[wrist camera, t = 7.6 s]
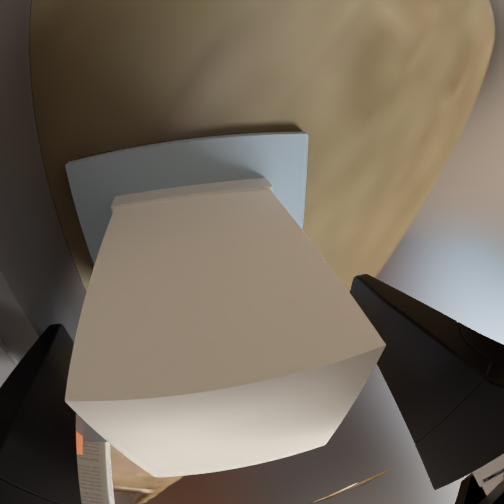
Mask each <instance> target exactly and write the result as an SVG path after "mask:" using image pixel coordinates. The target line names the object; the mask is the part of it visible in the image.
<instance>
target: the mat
mask: <svg viewBox="0 0 504 504" xmlns="http://www.w3.org/2000/svg"><path fill="white" fill-rule="evenodd" d="M308 136H309V134H308V133H306V132H304V131H302V132H266V133H247V134H233V135H221V136H211V137H202V138H193V139H185V140H177V141H170V142H163V143H157V144H150V145H144V146H139V147H133V148H128V149H123V150H118V151H113V152H108V153H103V154H99V155H94V156H90V157H86V158H82V159H78V160H74V161H70V162H68V163H67V164H66V165H65V167H66V172H67V176H68V181H69V185H70V189H71V193H72V196H73V200H74V204H75V207H76V211H77V214H78V218H79V221H80V225H81V228H82V231H83V234H84V237H85V240H86V243H87V246H88V249H89V252H90V255H91V258H92V261H93V263H94V265H95V262H96V259H97V256H98V253H99V250H100V247H101V244H102V241H103V238H104V235H105V233H106V230H107V227H108V225H109V222H110V219H111V217H112V210H111V205H112V203H113V200H114V198H115V196H120V195H126V194H132V193H139V192H145V191H152V190H159V189H166V188H173V187H180V186H188V185H197V184H205V183H214V182H224V181H234V180H245V179H257V178H266V179H267V180H268V181H269V182H270V183H271V185H272V186H273V194H274V195H275V196H276V198H277V199H278V200H279V201H280V203H281V204H282V205H283V206H284V208H285V209H286V210H287V211H288V213H289V214H290V215H291V216H292V218H293V219H294V220H295V221H296V223H297V224H298V225H299V226H300V228H301V229H302V230H303V218H304V205H305V190H306V175H307V157H308Z"/></svg>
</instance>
